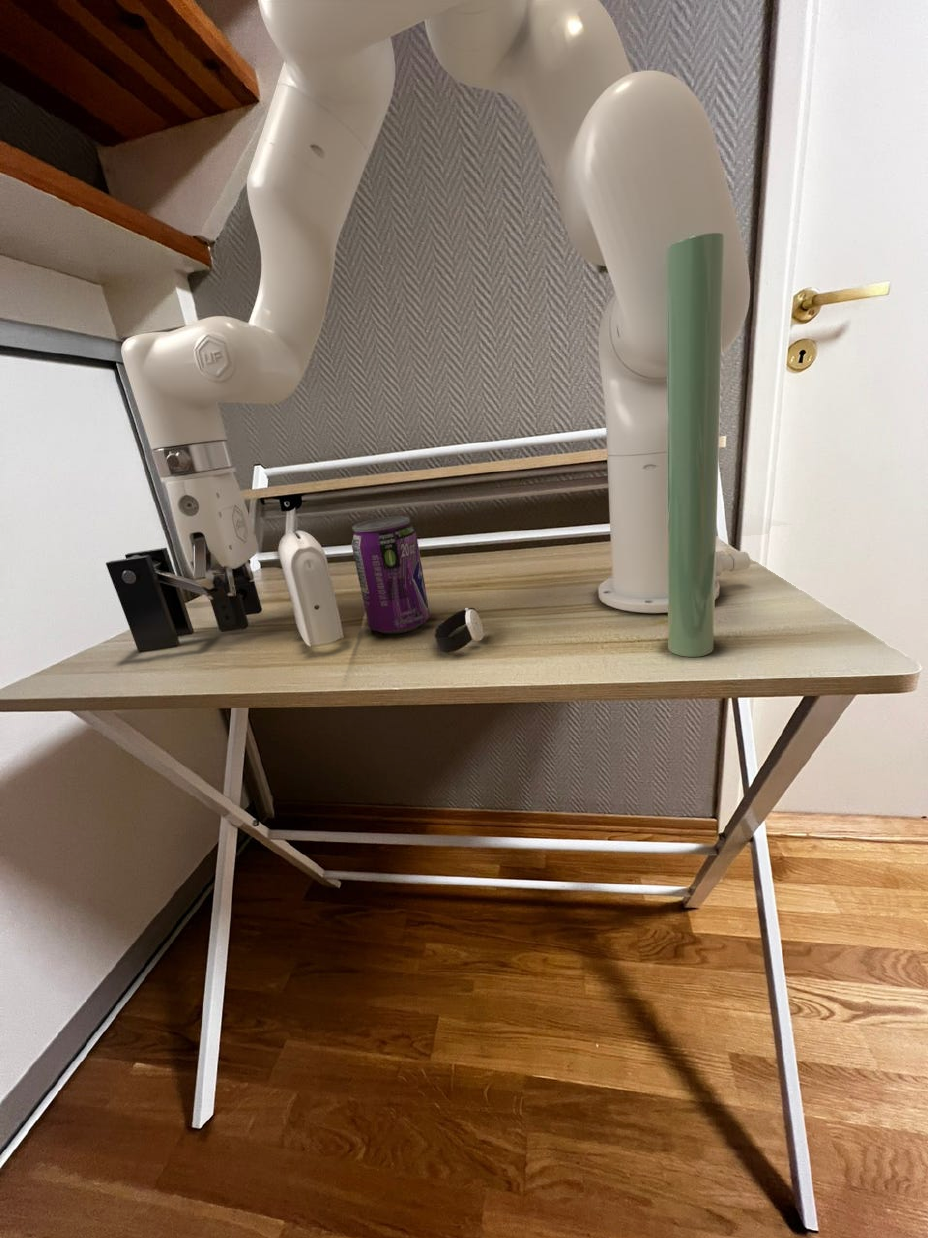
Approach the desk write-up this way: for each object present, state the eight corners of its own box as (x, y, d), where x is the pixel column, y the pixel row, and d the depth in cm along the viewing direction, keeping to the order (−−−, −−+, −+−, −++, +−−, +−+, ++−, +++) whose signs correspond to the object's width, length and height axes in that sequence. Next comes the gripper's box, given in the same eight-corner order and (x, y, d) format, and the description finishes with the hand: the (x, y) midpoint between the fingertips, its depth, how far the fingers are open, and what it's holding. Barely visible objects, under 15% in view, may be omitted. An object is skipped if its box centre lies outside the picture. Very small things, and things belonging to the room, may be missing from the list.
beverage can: (421, 636, 57) (402, 525, 53) (360, 639, 59) (336, 532, 55) (437, 613, 64) (421, 512, 60) (382, 616, 66) (362, 519, 62)
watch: (475, 657, 51) (470, 621, 49) (427, 658, 52) (421, 623, 50) (489, 626, 58) (485, 594, 56) (447, 628, 59) (442, 597, 57)
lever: (245, 604, 65) (249, 586, 65) (232, 616, 61) (237, 597, 60) (137, 571, 63) (141, 552, 62) (117, 581, 59) (120, 561, 58)
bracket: (217, 635, 67) (188, 543, 63) (197, 654, 62) (164, 555, 58) (145, 646, 67) (111, 554, 63) (119, 666, 61) (80, 567, 57)
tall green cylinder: (700, 637, 48) (707, 247, 38) (721, 653, 45) (735, 229, 34) (661, 643, 48) (657, 253, 38) (679, 659, 45) (680, 236, 34)
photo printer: (350, 647, 57) (324, 533, 53) (310, 659, 56) (280, 542, 51) (331, 622, 66) (308, 522, 62) (296, 631, 65) (270, 530, 60)
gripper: (199, 463, 50) (252, 643, 56) (254, 454, 66) (290, 596, 72) (118, 474, 49) (180, 654, 56) (193, 463, 65) (234, 604, 72)
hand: (241, 619), depth 64 cm, fingers closed on lever, 4 cm apart
